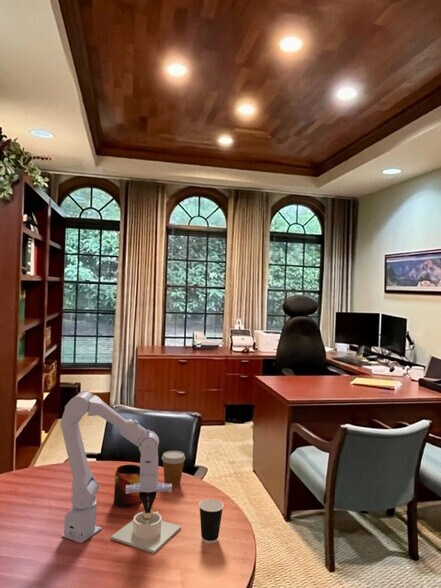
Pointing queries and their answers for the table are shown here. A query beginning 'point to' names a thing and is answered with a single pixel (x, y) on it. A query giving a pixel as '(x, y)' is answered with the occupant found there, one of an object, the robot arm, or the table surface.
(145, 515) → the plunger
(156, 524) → the white square-based fixture
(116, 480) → the mug
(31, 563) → the table surface
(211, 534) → the dixie cup
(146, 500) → the robot arm
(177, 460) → the disposable coffee cup
